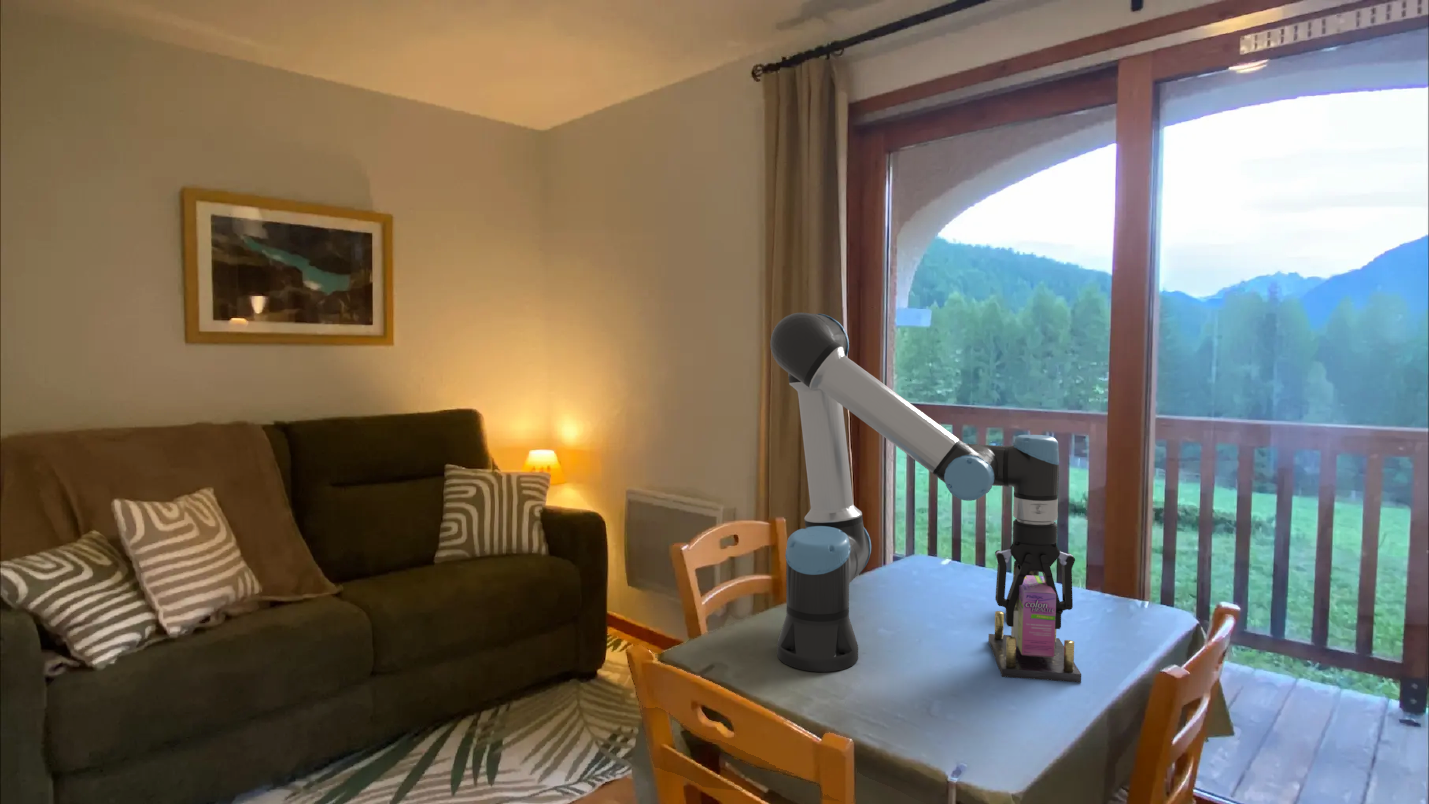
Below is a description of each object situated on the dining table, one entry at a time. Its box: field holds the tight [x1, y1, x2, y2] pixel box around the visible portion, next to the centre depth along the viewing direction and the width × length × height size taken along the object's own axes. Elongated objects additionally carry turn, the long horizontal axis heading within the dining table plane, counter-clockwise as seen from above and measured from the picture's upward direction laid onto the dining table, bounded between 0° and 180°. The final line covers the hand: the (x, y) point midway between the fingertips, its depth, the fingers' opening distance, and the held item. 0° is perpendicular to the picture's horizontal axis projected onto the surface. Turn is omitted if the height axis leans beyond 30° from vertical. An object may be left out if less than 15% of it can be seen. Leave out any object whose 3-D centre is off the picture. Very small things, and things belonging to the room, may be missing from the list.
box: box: [1012, 574, 1056, 657], centre depth 147 cm, size 10×6×12 cm, turn 169°
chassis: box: [987, 610, 1082, 684], centre depth 147 cm, size 13×17×6 cm
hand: (1032, 643), depth 147 cm, fingers closed on box, 6 cm apart
